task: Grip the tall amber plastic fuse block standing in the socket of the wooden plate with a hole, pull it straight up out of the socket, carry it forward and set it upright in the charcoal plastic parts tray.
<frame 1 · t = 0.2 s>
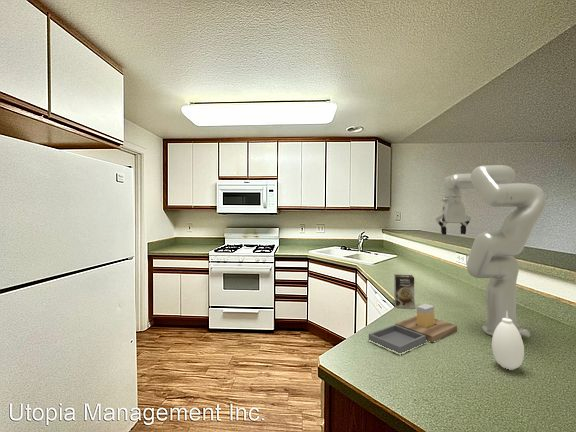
hand: (453, 234, 147), 37 cm above the counter, tool pointing down, fingers open, 9 cm apart
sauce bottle: (507, 369, 90), on the counter
coffee box: (404, 307, 150), on the counter
fuse block: (425, 318, 119), in the wooden plate with hole
parts tray: (397, 342, 109), on the counter
wooden plate with hole: (426, 330, 119), on the counter
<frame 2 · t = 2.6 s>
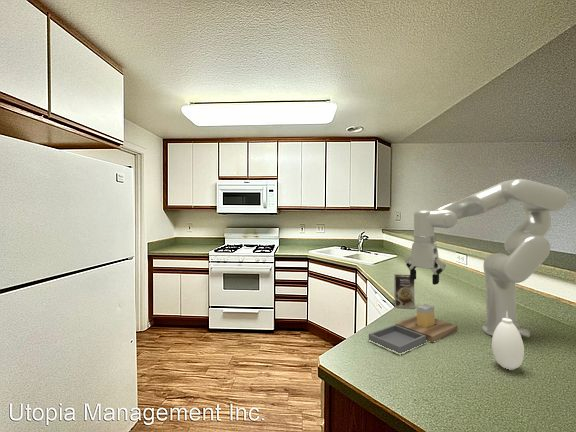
hand: (424, 281, 119), 20 cm above the counter, tool pointing down, fingers open, 9 cm apart
nothing on the counter moved.
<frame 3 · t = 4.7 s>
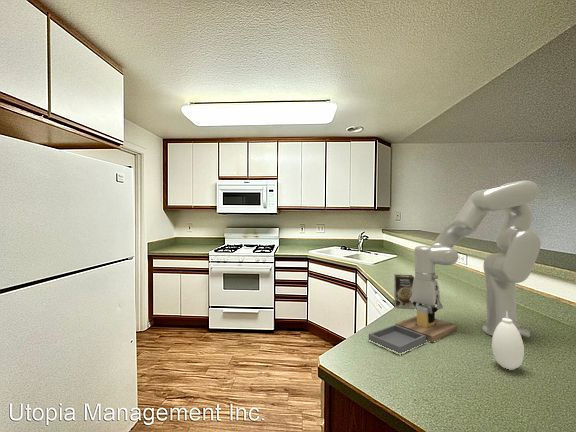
hand: (425, 320, 119), 4 cm above the counter, tool pointing down, fingers closed on fuse block, 4 cm apart
fuse block: (425, 318, 119), in the wooden plate with hole, touching gripper
everything else where it was.
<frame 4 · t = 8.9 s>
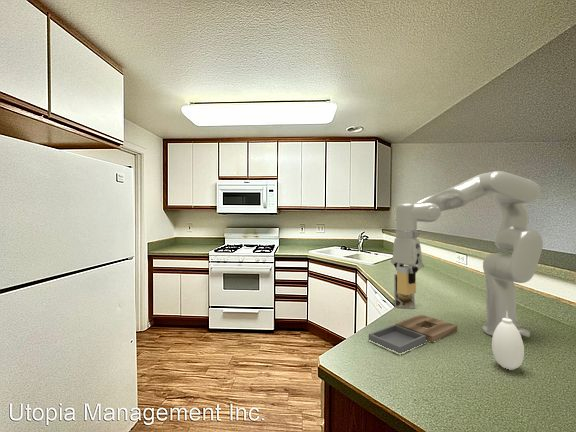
hand: (406, 281, 113), 22 cm above the counter, tool pointing down, fingers closed on fuse block, 4 cm apart
fuse block: (406, 279, 113), point 23 cm above the counter, touching gripper
everything else where it was.
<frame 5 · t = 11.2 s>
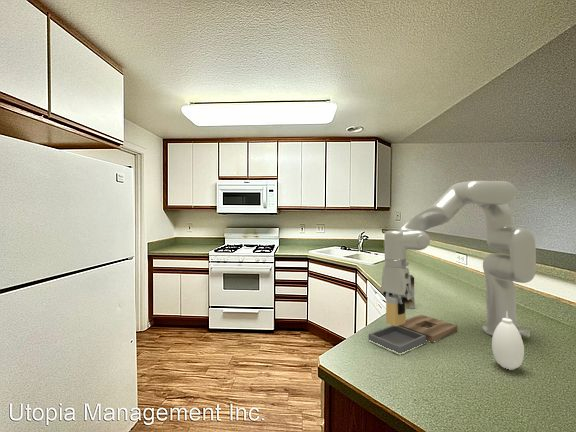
hand: (395, 311, 109), 12 cm above the counter, tool pointing down, fingers closed on fuse block, 4 cm apart
fuse block: (395, 309, 109), point 12 cm above the counter, touching gripper
everything else where it was.
when the fingers open (6 cm above the counter, at t = 13.0 s): fuse block drops 1 cm, resting on parts tray.
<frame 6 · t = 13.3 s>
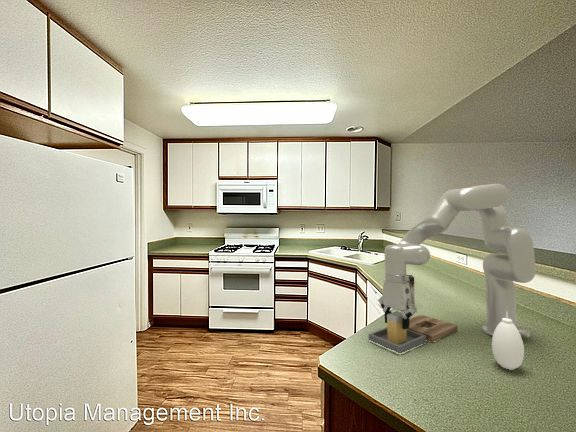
hand: (396, 324, 109), 7 cm above the counter, tool pointing down, fingers open, 7 cm apart
fuse block: (396, 327, 109), in the parts tray, point 6 cm above the counter
everything else where it was.
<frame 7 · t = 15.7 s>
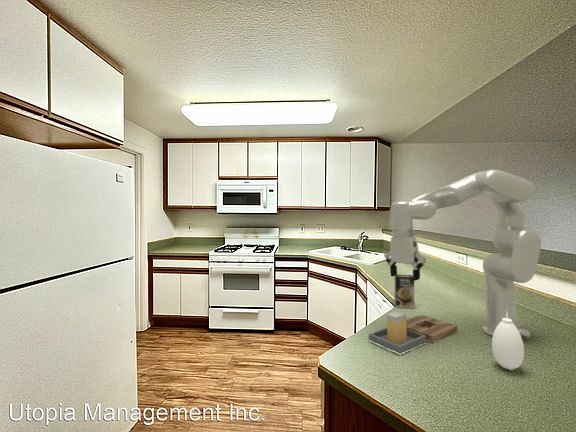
hand: (404, 277, 112), 24 cm above the counter, tool pointing down, fingers open, 9 cm apart
nothing on the counter moved.
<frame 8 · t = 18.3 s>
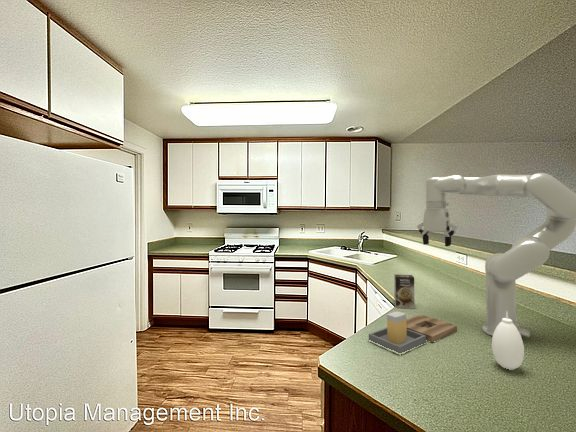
hand: (436, 245, 126), 34 cm above the counter, tool pointing down, fingers open, 9 cm apart
nothing on the counter moved.
at the end: fuse block inside the target area on the parts tray (0.0 cm from its centre), point 5.8 cm above the parts tray's base; fuse block tilted 0°; the gripper is holding nothing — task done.
